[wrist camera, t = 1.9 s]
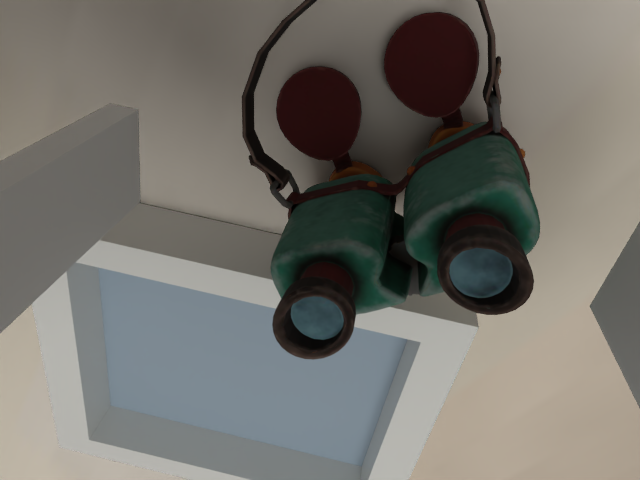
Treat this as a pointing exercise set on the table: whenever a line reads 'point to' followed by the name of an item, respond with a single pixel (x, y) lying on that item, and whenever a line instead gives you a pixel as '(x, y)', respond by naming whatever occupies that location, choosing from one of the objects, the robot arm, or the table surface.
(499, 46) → the table surface
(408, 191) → the binoculars
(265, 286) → the case
